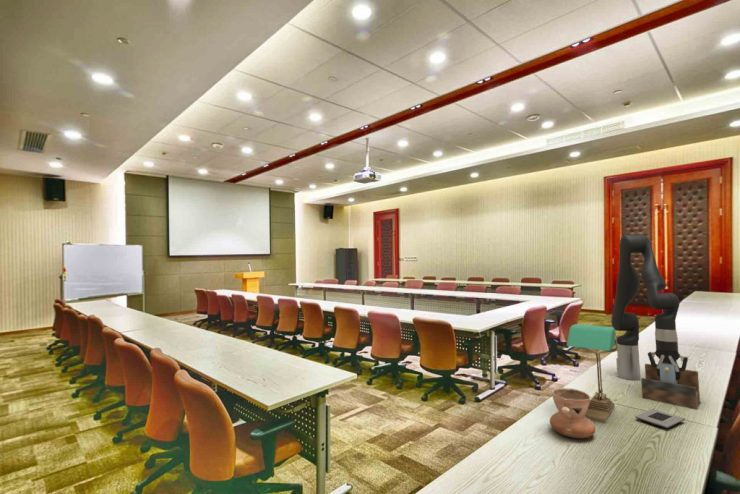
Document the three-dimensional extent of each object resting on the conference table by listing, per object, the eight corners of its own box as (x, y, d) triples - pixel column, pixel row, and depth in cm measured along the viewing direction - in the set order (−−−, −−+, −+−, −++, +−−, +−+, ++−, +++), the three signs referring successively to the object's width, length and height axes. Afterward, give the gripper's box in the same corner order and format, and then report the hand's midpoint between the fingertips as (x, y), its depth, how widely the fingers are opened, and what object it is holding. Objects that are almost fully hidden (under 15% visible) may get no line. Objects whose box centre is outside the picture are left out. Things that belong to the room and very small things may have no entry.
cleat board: (642, 398, 160) (640, 368, 161) (647, 392, 167) (645, 363, 168) (696, 409, 147) (694, 377, 148) (700, 402, 154) (697, 371, 154)
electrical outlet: (667, 432, 130) (667, 425, 130) (635, 421, 139) (634, 415, 139) (685, 424, 136) (685, 417, 136) (653, 414, 145) (652, 408, 145)
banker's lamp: (625, 409, 149) (619, 324, 151) (615, 427, 134) (609, 332, 136) (582, 400, 160) (577, 320, 162) (568, 416, 145) (563, 328, 146)
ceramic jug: (590, 448, 120) (588, 405, 121) (543, 435, 130) (542, 395, 131) (600, 430, 134) (599, 390, 134) (557, 419, 143) (556, 382, 144)
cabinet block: (660, 387, 157) (658, 363, 157) (663, 383, 161) (661, 360, 161) (675, 389, 153) (673, 366, 153) (677, 386, 157) (676, 362, 157)
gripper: (643, 338, 161) (646, 377, 160) (686, 342, 150) (689, 384, 150) (647, 335, 166) (650, 373, 165) (689, 339, 155) (692, 380, 155)
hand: (668, 378), depth 157 cm, fingers closed on cabinet block, 5 cm apart
